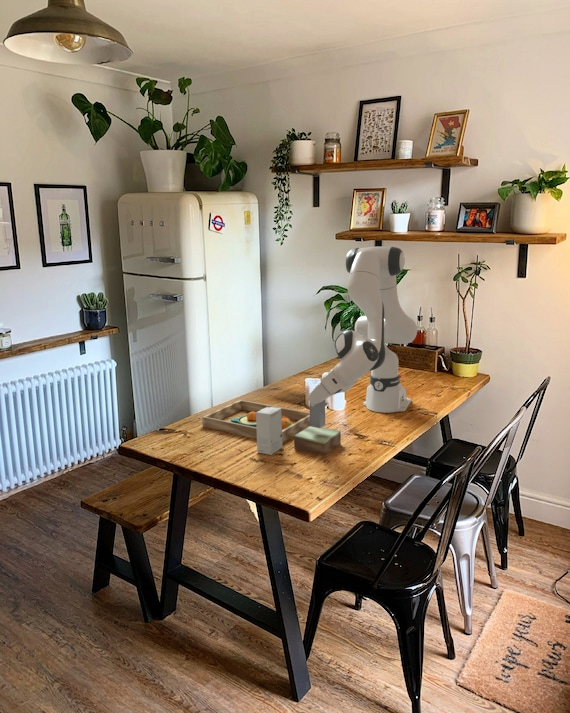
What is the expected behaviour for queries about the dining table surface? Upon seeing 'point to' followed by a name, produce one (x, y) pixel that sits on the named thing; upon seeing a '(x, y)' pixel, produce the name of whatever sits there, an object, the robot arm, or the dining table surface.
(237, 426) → the shallow serving tray
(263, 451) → the skincare box
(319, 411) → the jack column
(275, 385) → the dining table surface
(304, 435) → the block
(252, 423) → the toy juicer set
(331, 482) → the dining table surface
